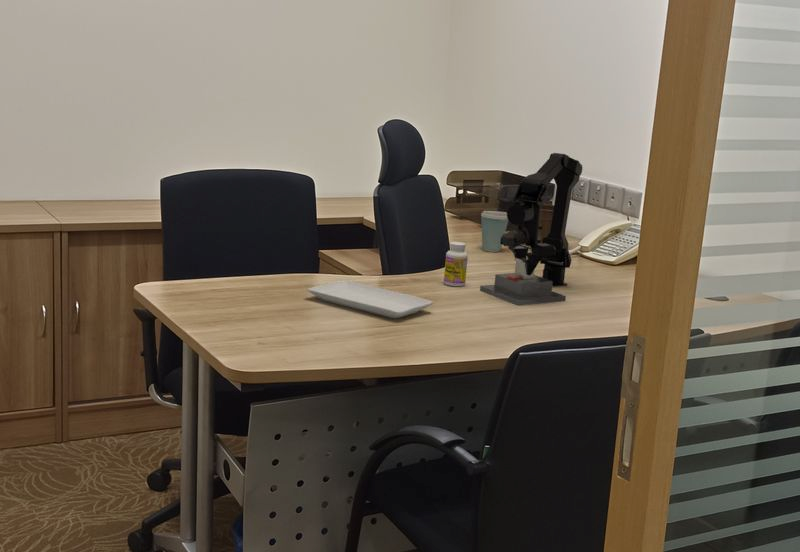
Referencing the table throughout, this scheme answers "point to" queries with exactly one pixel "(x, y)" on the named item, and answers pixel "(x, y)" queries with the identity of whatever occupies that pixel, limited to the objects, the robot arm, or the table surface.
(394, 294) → the tray
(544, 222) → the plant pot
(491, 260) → the table surface
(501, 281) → the red button base
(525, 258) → the column
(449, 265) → the supplement bottle
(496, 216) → the disposable coffee cup
